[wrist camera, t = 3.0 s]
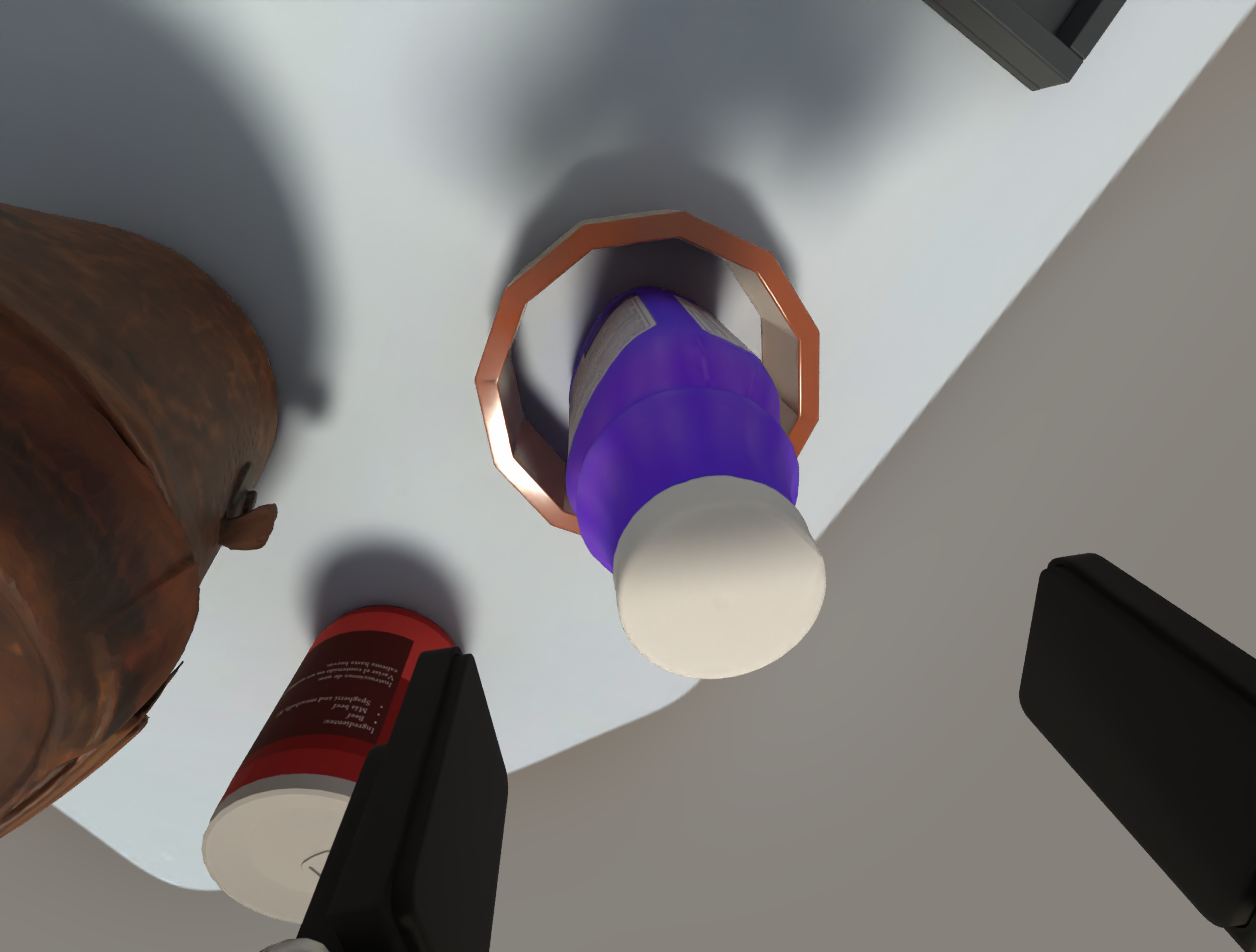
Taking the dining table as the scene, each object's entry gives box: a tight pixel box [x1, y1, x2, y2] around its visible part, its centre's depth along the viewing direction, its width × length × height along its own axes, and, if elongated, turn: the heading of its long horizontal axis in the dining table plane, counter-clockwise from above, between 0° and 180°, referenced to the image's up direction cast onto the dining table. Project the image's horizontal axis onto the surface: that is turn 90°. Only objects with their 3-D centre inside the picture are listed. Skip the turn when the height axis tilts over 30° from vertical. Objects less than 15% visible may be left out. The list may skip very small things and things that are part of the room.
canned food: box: [202, 606, 455, 924], centre depth 28 cm, size 8×8×11 cm
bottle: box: [566, 286, 826, 679], centre depth 19 cm, size 7×6×17 cm
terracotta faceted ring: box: [475, 209, 819, 535], centre depth 25 cm, size 13×13×5 cm
